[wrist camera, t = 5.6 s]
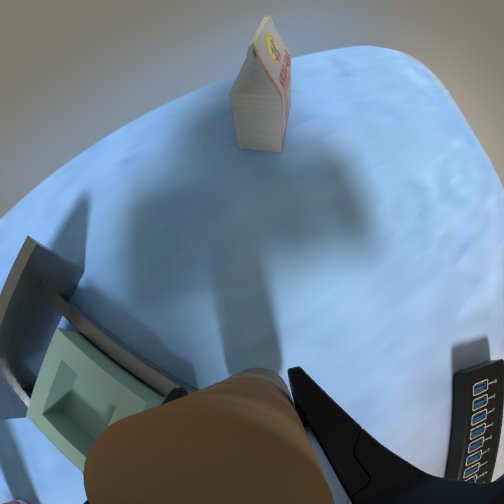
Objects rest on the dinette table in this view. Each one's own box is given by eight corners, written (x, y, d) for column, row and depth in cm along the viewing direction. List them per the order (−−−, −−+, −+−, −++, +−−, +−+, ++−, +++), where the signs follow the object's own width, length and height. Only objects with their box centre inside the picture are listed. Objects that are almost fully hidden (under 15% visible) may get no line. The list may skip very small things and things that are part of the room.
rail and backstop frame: (217, 355, 17) (189, 354, 11) (131, 512, 12) (93, 543, 7) (74, 263, 20) (28, 235, 15) (17, 406, 15) (-29, 406, 10)
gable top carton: (238, 148, 23) (220, 47, 14) (253, 101, 25) (243, 14, 16) (281, 152, 22) (280, 48, 13) (290, 104, 25) (290, 15, 15)
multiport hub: (487, 359, 15) (505, 357, 13) (470, 502, 10) (482, 509, 7) (450, 372, 15) (467, 372, 13) (431, 521, 10) (442, 531, 8)
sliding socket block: (169, 395, 16) (146, 402, 13) (128, 475, 14) (104, 490, 10) (86, 334, 18) (56, 327, 14) (54, 411, 15) (26, 414, 12)
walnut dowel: (299, 383, 14) (386, 470, 2) (271, 434, 13) (257, 606, 1) (244, 357, 15) (131, 355, 3) (216, 408, 14) (66, 511, 2)
